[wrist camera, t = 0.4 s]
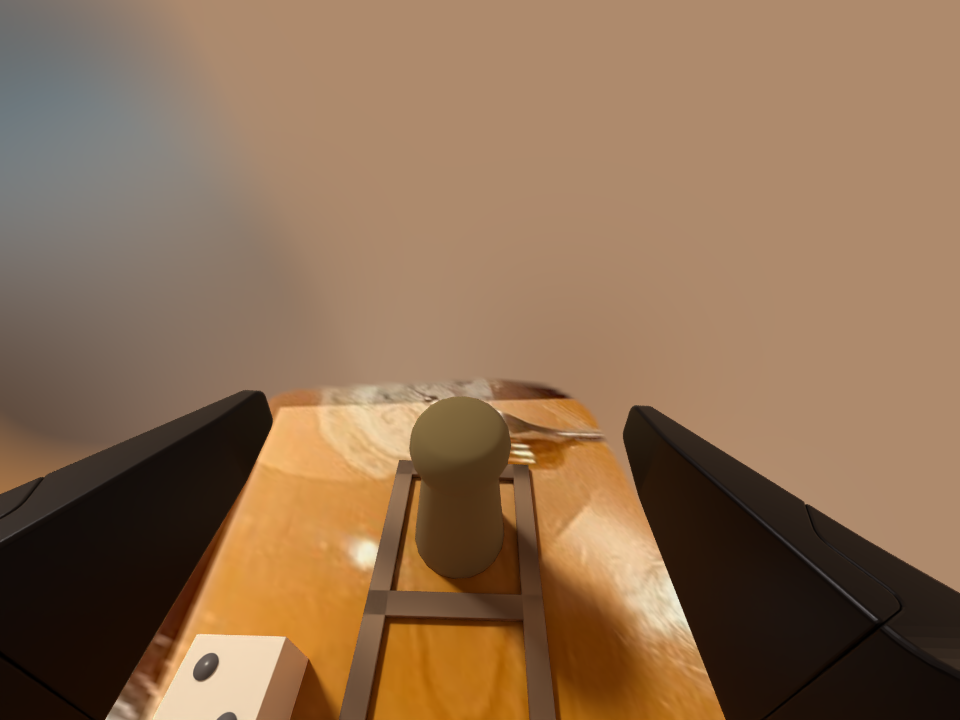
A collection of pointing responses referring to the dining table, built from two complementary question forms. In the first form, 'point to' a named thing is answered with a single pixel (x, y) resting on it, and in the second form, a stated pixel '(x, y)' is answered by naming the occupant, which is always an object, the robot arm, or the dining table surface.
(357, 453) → the dining table surface
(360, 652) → the three-pane window frame
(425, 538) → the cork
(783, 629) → the robot arm
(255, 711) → the die
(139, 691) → the dining table surface
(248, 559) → the dining table surface
